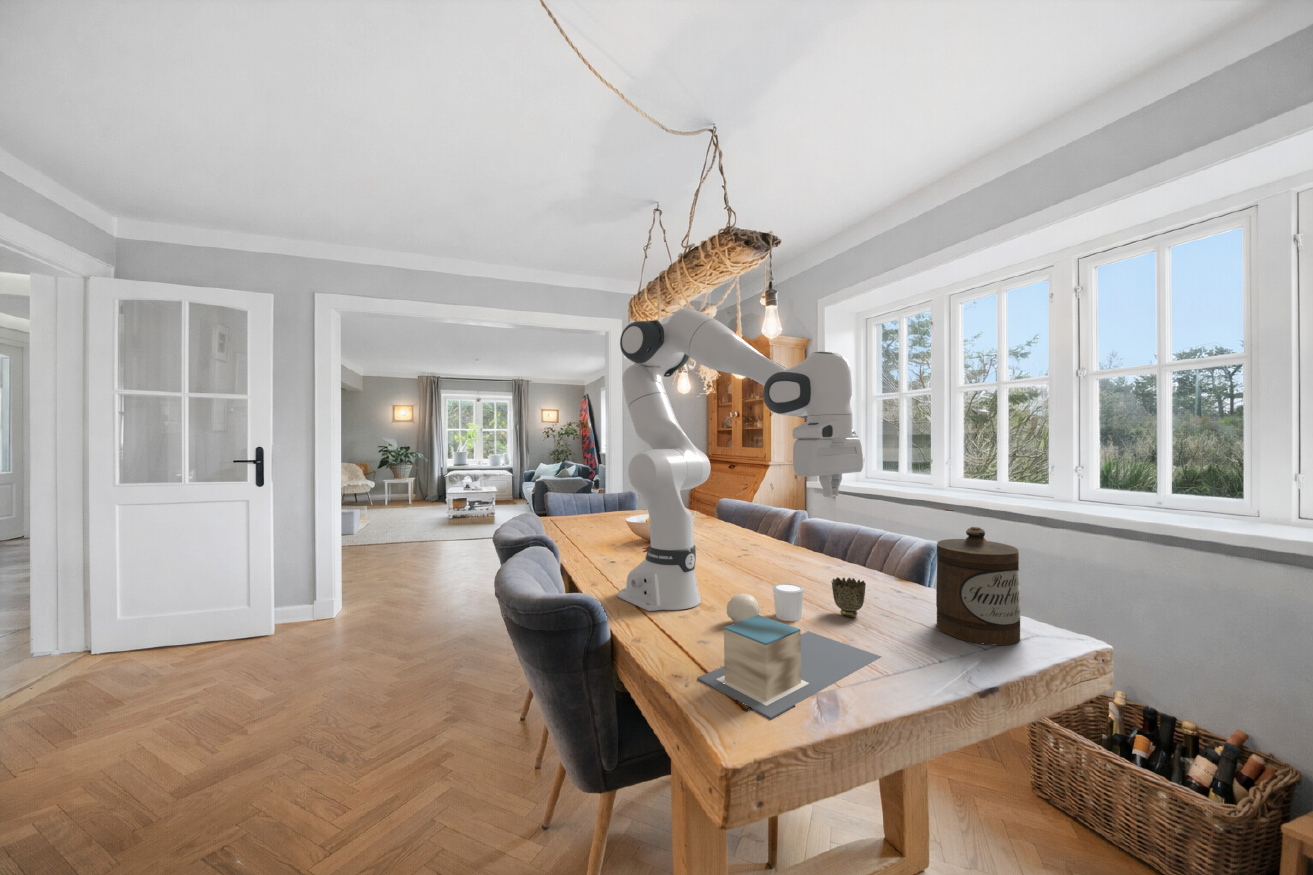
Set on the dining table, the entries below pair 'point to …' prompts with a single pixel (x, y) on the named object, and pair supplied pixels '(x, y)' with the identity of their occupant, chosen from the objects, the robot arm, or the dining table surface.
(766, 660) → the maple cube
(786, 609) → the white cylindrical piece
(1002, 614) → the wooden container
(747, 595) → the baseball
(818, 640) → the charcoal mat
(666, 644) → the dining table surface
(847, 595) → the cup
